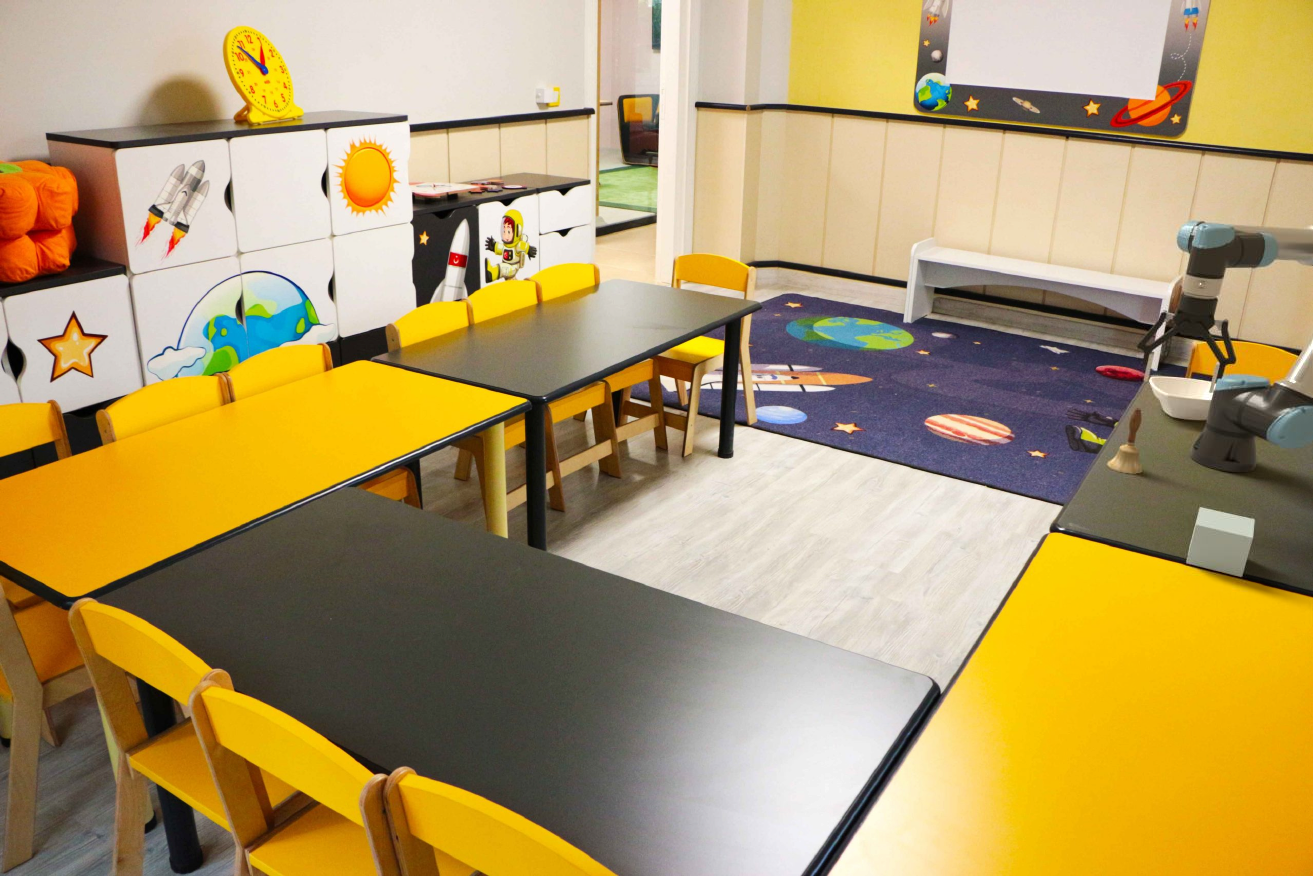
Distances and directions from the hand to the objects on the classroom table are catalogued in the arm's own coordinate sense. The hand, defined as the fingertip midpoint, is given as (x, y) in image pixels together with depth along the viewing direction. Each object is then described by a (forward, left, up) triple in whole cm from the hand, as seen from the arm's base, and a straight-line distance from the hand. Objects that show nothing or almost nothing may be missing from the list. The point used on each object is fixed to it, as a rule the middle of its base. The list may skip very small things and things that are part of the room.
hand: (1178, 385), depth 233 cm
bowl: (-58, -32, -27) cm, 72 cm away
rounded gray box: (+19, +29, -27) cm, 44 cm away
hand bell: (-7, -13, -27) cm, 31 cm away
